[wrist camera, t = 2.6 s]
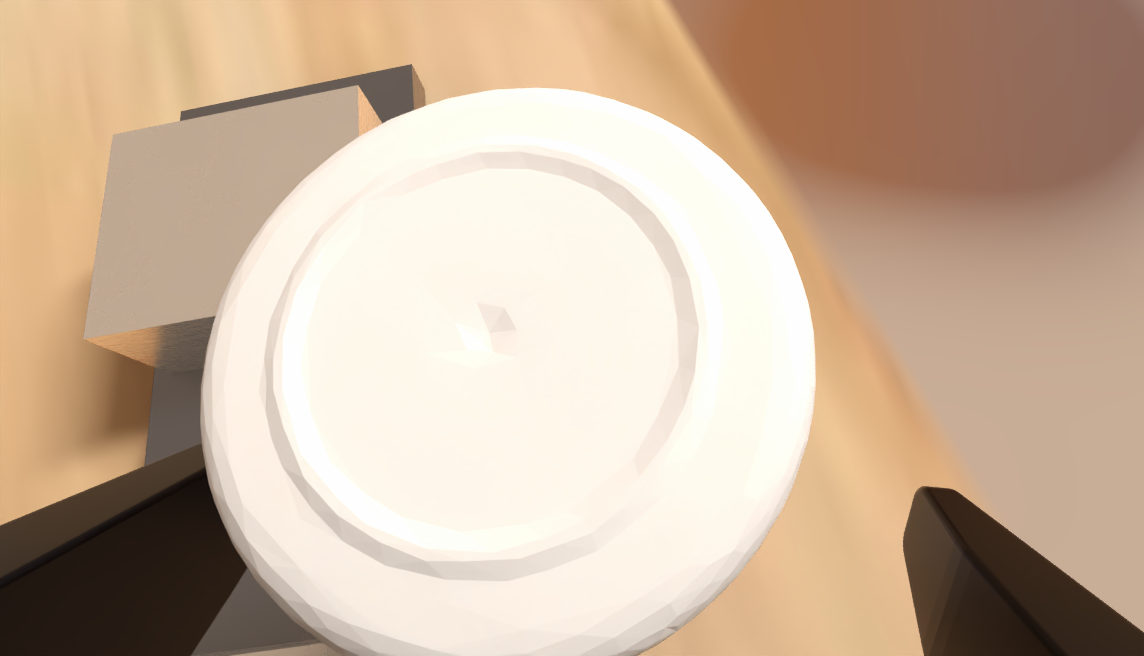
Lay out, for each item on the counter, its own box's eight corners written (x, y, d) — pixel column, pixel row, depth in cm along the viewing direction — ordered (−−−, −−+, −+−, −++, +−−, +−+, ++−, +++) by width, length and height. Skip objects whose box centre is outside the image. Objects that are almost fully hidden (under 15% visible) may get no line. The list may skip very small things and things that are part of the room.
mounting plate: (486, 1117, 13) (411, 1347, 9) (117, 1145, 14) (-98, 1370, 10) (424, 89, 23) (373, -12, 19) (204, 133, 23) (110, 45, 19)
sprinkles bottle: (706, 608, 16) (856, 758, 3) (522, 592, 17) (81, 671, 4) (706, 421, 17) (811, 48, 5) (538, 414, 18) (252, 69, 6)
